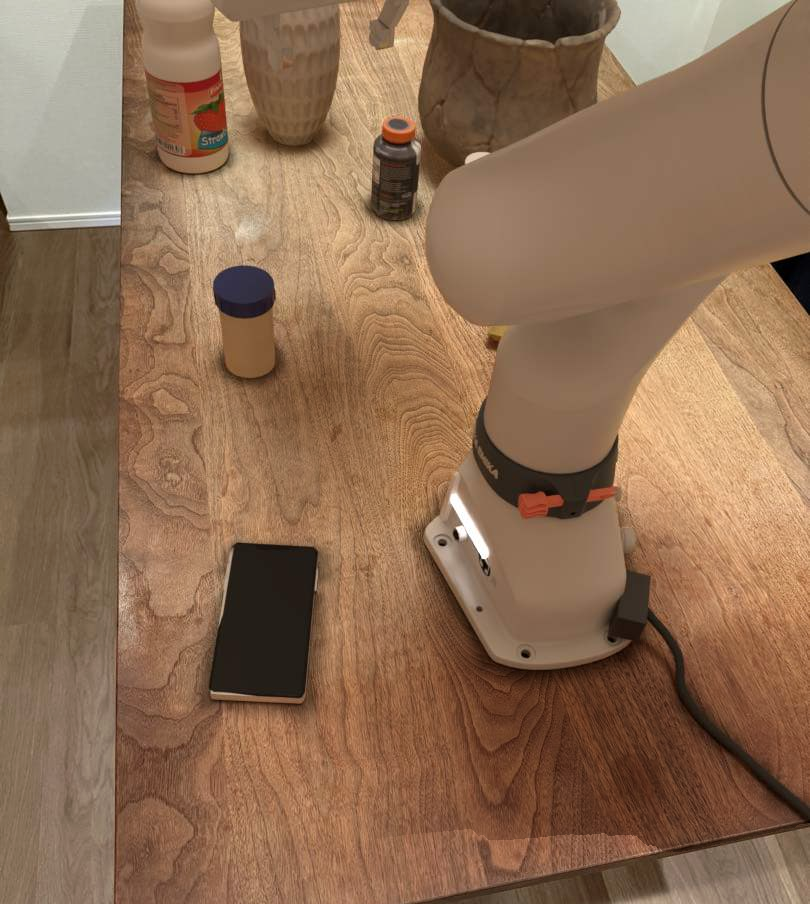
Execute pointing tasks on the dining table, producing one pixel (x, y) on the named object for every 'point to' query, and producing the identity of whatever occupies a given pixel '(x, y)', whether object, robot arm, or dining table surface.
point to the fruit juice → (184, 83)
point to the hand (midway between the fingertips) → (332, 56)
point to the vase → (294, 73)
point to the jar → (248, 344)
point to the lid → (244, 291)
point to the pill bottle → (395, 169)
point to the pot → (508, 69)
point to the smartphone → (265, 624)
